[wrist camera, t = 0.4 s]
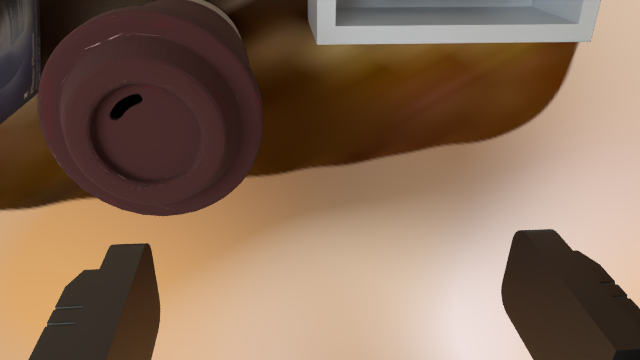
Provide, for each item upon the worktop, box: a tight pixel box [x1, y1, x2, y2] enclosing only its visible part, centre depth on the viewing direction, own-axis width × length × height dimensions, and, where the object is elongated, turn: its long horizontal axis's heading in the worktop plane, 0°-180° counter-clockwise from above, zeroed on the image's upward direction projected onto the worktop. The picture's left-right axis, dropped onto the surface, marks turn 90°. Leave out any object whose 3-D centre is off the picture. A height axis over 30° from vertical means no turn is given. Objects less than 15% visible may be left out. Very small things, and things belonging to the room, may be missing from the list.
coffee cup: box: [37, 0, 263, 216], centre depth 29 cm, size 10×10×15 cm
